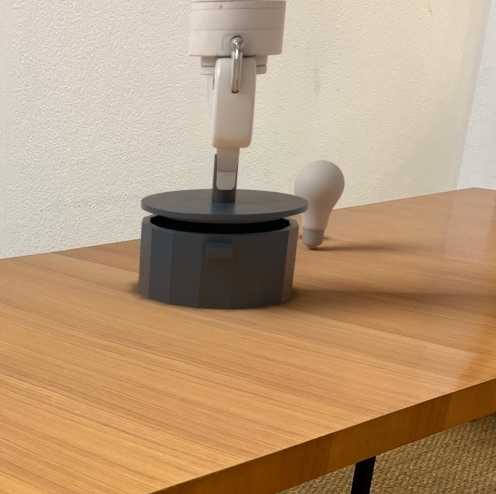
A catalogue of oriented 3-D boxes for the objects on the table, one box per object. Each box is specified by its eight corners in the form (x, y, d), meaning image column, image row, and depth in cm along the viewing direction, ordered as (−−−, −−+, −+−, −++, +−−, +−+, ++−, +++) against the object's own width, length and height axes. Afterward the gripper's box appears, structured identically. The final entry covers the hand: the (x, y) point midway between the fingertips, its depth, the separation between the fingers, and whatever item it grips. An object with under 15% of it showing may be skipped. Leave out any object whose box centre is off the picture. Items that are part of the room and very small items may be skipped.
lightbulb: (292, 242, 140) (302, 156, 135) (339, 246, 138) (351, 158, 133) (282, 251, 135) (292, 161, 130) (331, 255, 133) (343, 164, 128)
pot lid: (299, 200, 113) (305, 144, 110) (314, 228, 98) (321, 164, 96) (144, 199, 116) (146, 145, 113) (136, 226, 101) (138, 164, 99)
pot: (281, 283, 119) (289, 206, 115) (296, 332, 100) (307, 242, 97) (142, 279, 122) (146, 203, 118) (132, 326, 103) (137, 238, 99)
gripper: (276, 37, 90) (262, 202, 96) (264, 33, 108) (252, 172, 114) (202, 38, 91) (192, 202, 97) (201, 34, 110) (193, 172, 115)
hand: (224, 186), depth 106 cm, fingers closed on pot lid, 2 cm apart
